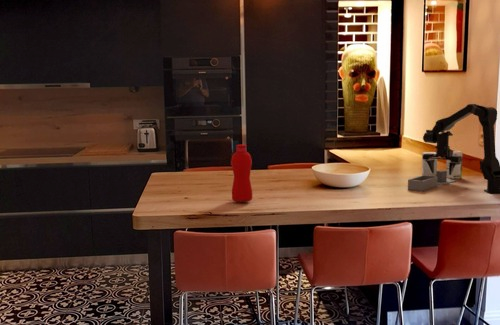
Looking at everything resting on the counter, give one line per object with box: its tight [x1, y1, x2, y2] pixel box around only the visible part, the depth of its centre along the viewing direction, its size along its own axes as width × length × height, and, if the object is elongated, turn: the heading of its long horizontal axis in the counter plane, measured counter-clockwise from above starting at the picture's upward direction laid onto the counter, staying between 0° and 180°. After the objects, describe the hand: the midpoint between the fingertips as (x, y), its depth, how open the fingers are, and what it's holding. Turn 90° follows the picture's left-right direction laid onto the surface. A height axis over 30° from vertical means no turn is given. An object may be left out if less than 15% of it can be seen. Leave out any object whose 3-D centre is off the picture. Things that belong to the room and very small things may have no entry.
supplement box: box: [421, 151, 438, 177], centre depth 289 cm, size 7×7×13 cm
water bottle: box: [230, 144, 253, 203], centre depth 232 cm, size 9×11×25 cm
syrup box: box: [445, 150, 463, 180], centre depth 279 cm, size 6×6×14 cm
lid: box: [435, 169, 457, 186], centre depth 267 cm, size 16×7×6 cm, turn 129°
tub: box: [407, 174, 438, 193], centre depth 252 cm, size 16×7×5 cm, turn 136°
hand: (441, 174), depth 267 cm, fingers open, 9 cm apart
